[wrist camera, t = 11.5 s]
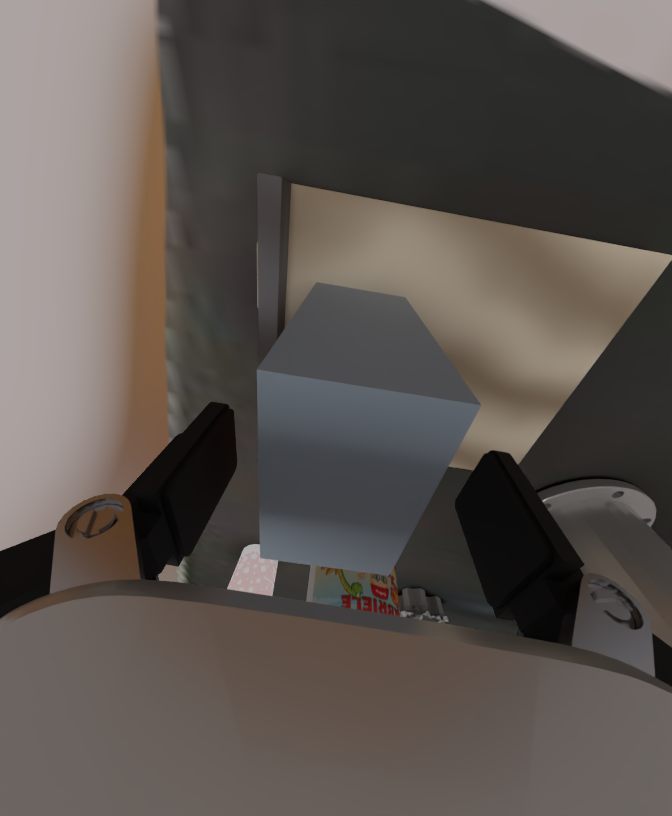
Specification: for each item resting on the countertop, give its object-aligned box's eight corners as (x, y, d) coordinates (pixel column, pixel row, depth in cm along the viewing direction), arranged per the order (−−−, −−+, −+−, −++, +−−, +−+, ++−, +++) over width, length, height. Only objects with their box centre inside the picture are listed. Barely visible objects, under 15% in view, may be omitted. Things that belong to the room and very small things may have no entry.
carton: (373, 412, 20) (389, 575, 10) (301, 401, 19) (254, 557, 10) (405, 297, 15) (481, 405, 6) (312, 281, 15) (247, 368, 6)
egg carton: (391, 618, 44) (394, 651, 41) (359, 602, 41) (359, 636, 38) (448, 600, 39) (457, 636, 36) (415, 581, 37) (421, 617, 33)
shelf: (501, 462, 24) (522, 495, 21) (269, 426, 23) (256, 455, 20) (647, 253, 15) (719, 259, 12) (273, 182, 14) (252, 171, 11)
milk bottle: (373, 545, 32) (392, 891, 15) (309, 530, 31) (257, 881, 14) (401, 506, 28) (470, 927, 11) (328, 487, 27) (286, 916, 10)
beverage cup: (281, 569, 36) (246, 730, 25) (235, 561, 36) (178, 721, 24) (288, 546, 33) (252, 719, 22) (237, 536, 33) (172, 709, 21)
